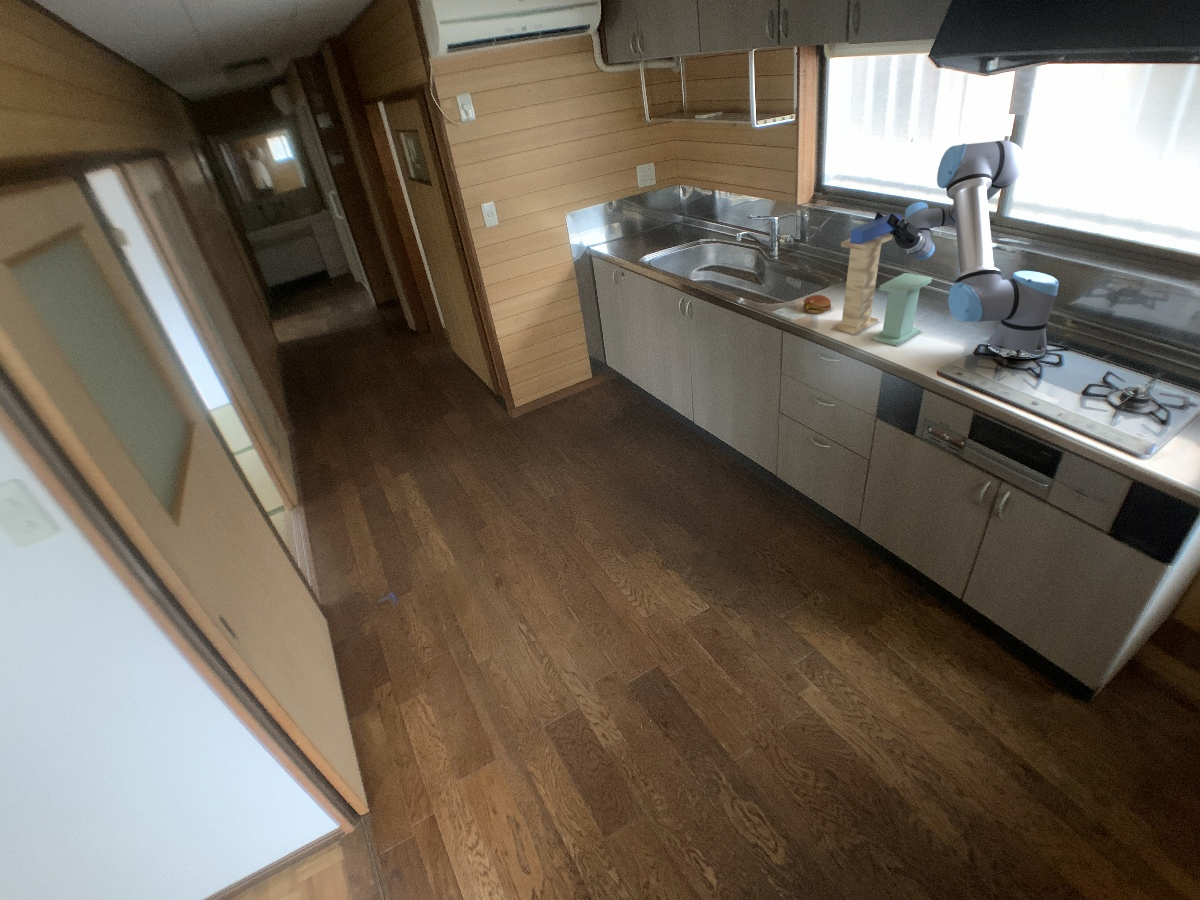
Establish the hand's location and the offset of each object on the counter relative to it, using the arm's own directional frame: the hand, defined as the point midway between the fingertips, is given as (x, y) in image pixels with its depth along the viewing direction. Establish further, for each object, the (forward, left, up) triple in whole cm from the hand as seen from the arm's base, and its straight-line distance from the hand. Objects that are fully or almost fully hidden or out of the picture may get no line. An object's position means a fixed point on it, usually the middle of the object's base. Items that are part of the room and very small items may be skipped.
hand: (883, 217), depth 198 cm
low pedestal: (-9, +15, -35) cm, 39 cm away
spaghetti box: (+2, +3, -5) cm, 6 cm away
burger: (+18, -7, -35) cm, 40 cm away
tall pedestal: (+4, +7, -35) cm, 36 cm away
